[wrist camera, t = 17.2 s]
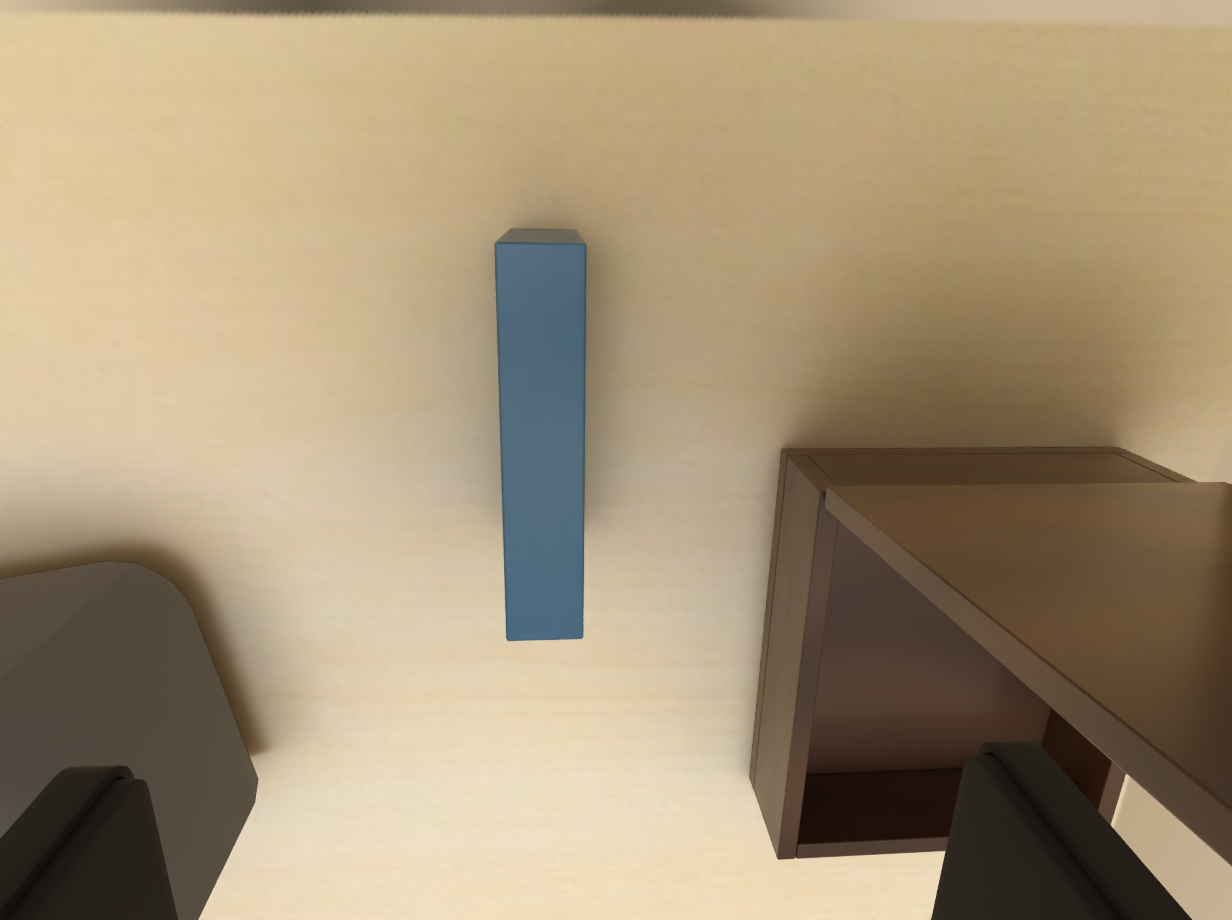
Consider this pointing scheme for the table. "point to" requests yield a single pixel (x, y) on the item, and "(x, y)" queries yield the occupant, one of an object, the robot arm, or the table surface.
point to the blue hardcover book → (542, 429)
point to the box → (893, 663)
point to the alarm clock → (123, 709)
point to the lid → (1089, 612)
